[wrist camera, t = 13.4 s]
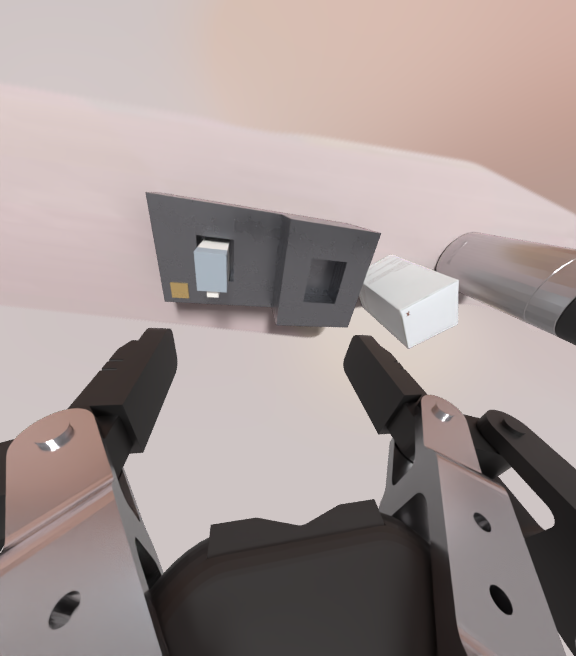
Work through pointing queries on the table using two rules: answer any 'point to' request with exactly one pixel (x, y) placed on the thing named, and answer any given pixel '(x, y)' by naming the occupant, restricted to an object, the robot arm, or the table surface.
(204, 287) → the plug
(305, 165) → the table surface
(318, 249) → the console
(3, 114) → the table surface
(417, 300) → the supplement box
